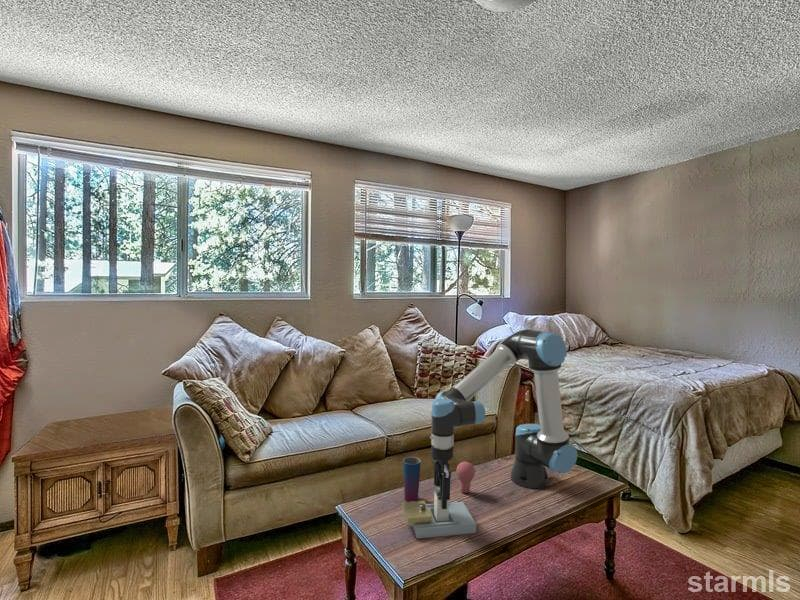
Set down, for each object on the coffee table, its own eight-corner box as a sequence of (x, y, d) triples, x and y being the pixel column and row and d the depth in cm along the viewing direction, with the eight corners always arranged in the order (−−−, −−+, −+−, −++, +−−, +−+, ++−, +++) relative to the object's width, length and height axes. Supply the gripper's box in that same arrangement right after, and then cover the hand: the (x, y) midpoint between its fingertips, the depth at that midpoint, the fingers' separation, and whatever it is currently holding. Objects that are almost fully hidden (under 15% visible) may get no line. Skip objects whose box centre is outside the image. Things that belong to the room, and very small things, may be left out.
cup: (406, 505, 153) (407, 465, 152) (399, 496, 159) (400, 458, 158) (423, 501, 155) (424, 462, 155) (415, 493, 162) (416, 455, 161)
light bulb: (474, 498, 159) (474, 467, 158) (455, 495, 160) (455, 465, 160) (474, 489, 166) (475, 459, 165) (456, 487, 167) (457, 457, 166)
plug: (445, 513, 144) (445, 485, 143) (448, 520, 140) (448, 490, 139) (433, 514, 143) (434, 485, 143) (436, 521, 139) (437, 491, 139)
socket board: (462, 509, 150) (462, 500, 150) (476, 532, 136) (476, 522, 136) (408, 514, 147) (408, 504, 147) (416, 538, 133) (416, 527, 133)
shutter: (424, 507, 146) (424, 497, 145) (431, 523, 136) (431, 512, 136) (402, 509, 144) (402, 498, 144) (407, 525, 134) (407, 514, 134)
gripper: (425, 436, 148) (424, 500, 149) (438, 456, 131) (437, 528, 132) (446, 435, 150) (445, 499, 150) (460, 455, 133) (459, 526, 134)
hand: (441, 512), depth 141 cm, fingers closed on plug, 4 cm apart
